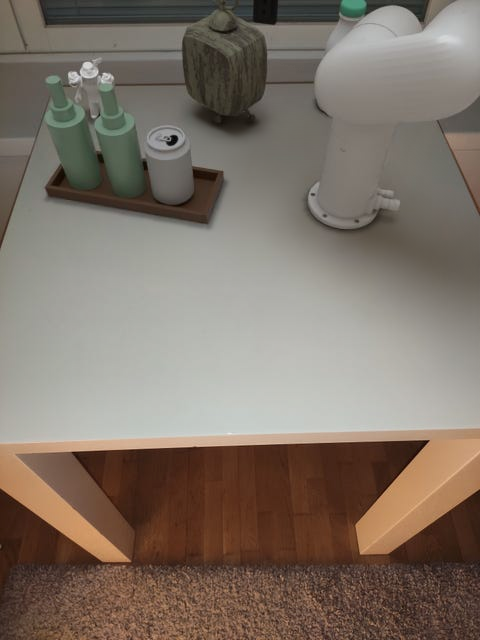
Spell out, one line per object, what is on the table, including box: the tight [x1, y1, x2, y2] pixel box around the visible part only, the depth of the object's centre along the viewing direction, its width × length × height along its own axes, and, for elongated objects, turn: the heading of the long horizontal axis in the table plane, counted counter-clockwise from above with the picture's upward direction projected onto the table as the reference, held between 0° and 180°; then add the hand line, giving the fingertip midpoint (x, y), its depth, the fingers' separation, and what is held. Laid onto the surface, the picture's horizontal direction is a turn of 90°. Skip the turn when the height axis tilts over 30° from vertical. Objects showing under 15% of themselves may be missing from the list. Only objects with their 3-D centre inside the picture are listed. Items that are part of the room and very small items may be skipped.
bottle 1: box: [44, 74, 103, 191], centre depth 80 cm, size 6×6×19 cm
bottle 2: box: [93, 83, 147, 198], centre depth 79 cm, size 6×6×19 cm
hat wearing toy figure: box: [67, 56, 116, 119], centre depth 94 cm, size 9×4×12 cm, turn 87°
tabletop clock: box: [181, 0, 268, 124], centre depth 89 cm, size 14×9×25 cm, turn 49°
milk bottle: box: [316, 0, 367, 112], centre depth 93 cm, size 8×8×20 cm
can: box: [143, 124, 194, 205], centre depth 81 cm, size 8×8×12 cm
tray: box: [44, 150, 225, 225], centre depth 86 cm, size 30×12×3 cm, turn 77°
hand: (271, 6), depth 67 cm, fingers open, 9 cm apart
